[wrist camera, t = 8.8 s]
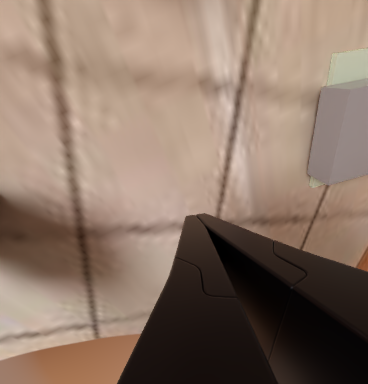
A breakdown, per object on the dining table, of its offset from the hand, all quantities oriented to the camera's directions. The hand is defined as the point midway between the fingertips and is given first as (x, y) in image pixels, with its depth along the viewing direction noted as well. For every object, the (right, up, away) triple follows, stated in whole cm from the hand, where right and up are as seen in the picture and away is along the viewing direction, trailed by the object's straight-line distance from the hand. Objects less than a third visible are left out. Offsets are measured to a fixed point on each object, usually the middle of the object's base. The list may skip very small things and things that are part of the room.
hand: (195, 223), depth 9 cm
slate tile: (+13, +7, +13) cm, 19 cm away
